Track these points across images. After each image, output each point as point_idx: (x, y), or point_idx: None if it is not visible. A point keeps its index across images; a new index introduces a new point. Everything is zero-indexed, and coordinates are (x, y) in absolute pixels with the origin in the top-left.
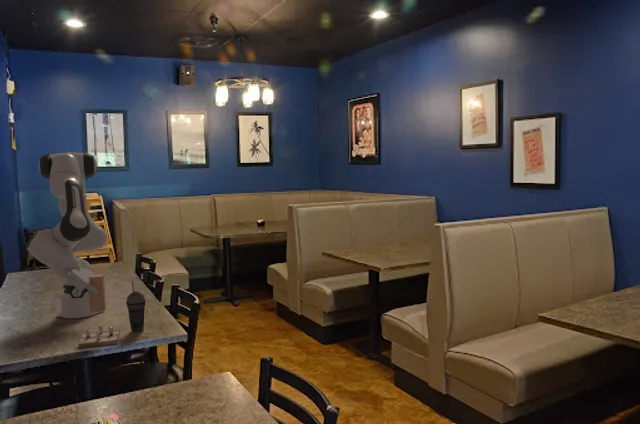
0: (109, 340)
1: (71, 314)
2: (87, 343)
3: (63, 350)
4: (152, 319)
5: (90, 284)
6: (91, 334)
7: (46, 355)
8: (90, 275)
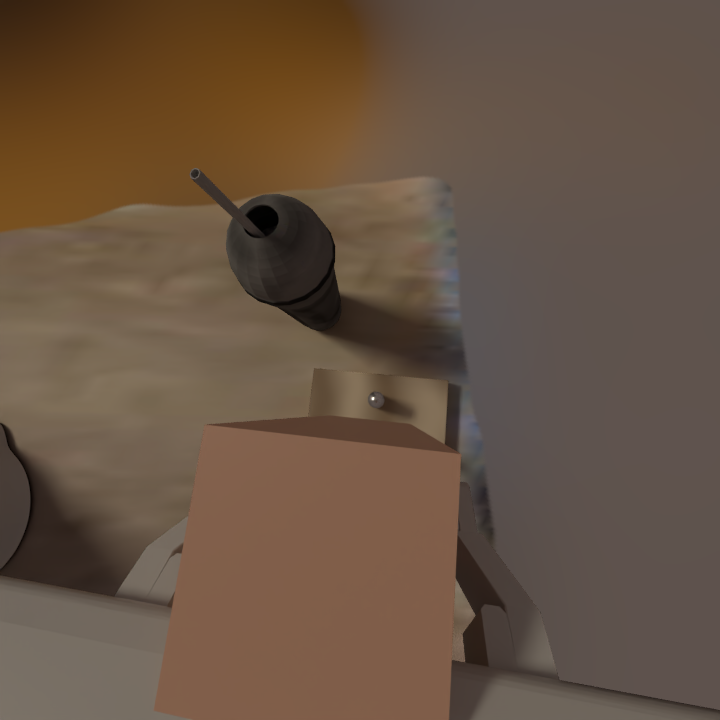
0: (444, 409)
1: None
2: None
3: None
4: (206, 256)
5: (545, 636)
6: None
7: None
8: (225, 696)
